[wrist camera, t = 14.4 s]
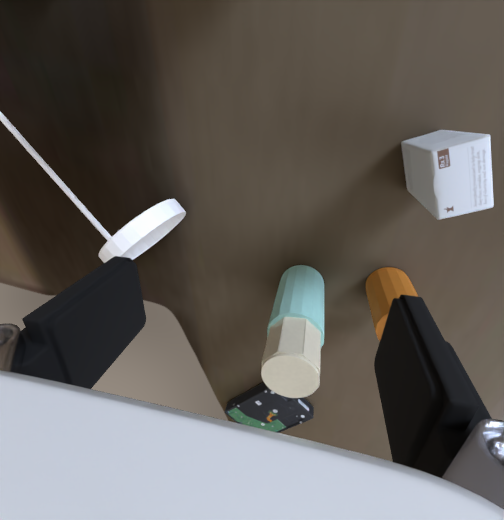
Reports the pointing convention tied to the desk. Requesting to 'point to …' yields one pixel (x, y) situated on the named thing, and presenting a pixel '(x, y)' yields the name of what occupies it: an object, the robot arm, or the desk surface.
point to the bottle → (300, 297)
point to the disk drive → (268, 409)
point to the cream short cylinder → (292, 358)
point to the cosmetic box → (449, 172)
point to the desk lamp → (132, 234)
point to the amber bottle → (386, 293)
